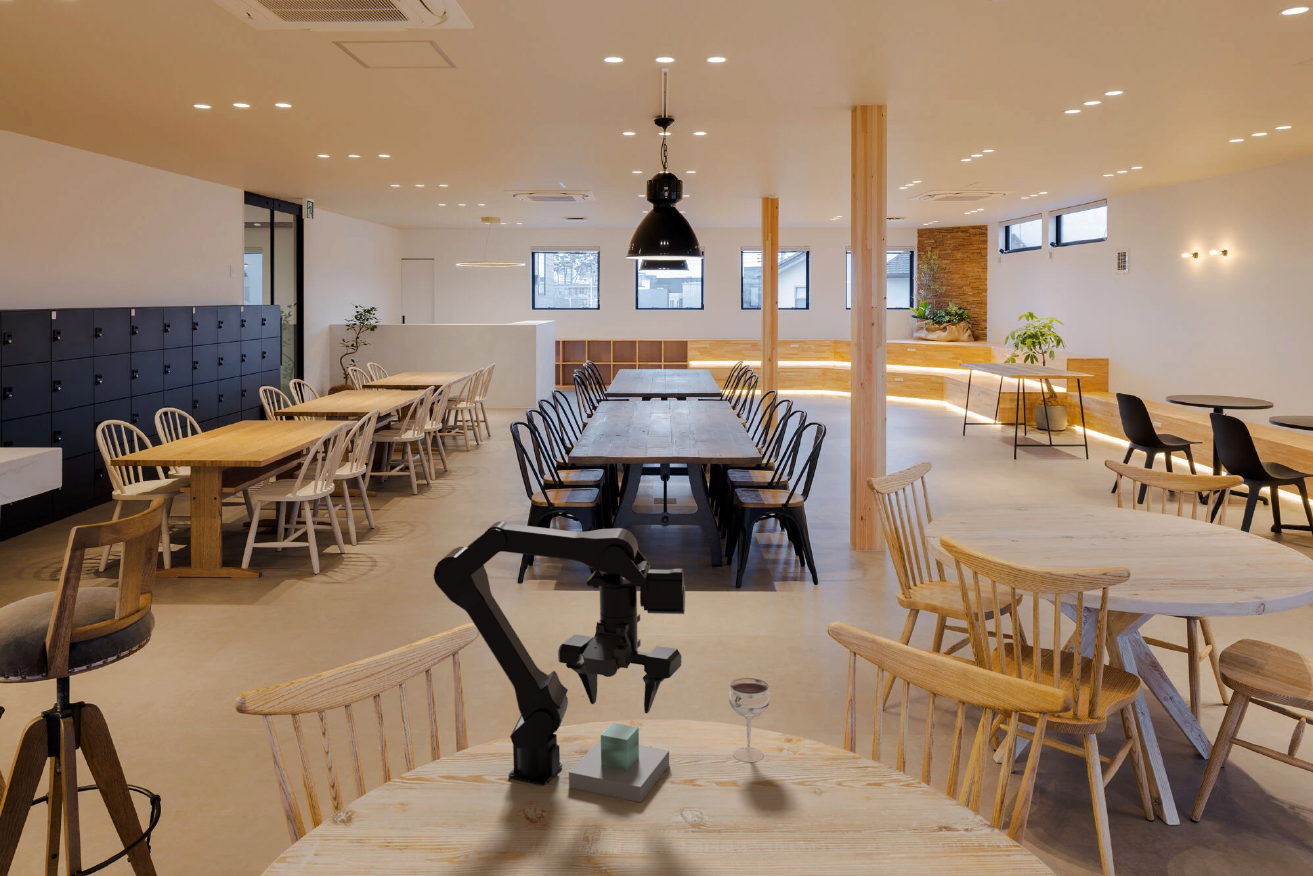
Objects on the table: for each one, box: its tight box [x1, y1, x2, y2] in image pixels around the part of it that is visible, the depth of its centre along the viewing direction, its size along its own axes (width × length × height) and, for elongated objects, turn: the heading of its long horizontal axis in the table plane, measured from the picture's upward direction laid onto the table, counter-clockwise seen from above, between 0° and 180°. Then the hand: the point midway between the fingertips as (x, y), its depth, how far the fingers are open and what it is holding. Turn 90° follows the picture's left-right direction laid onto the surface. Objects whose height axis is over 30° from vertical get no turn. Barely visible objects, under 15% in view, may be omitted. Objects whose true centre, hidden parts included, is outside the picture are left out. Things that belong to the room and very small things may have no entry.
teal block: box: [600, 722, 640, 770], centre depth 142 cm, size 4×4×5 cm
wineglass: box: [728, 677, 771, 763], centre depth 149 cm, size 7×7×12 cm
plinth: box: [568, 738, 670, 803], centre depth 143 cm, size 12×12×2 cm
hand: (620, 707), depth 141 cm, fingers open, 9 cm apart
